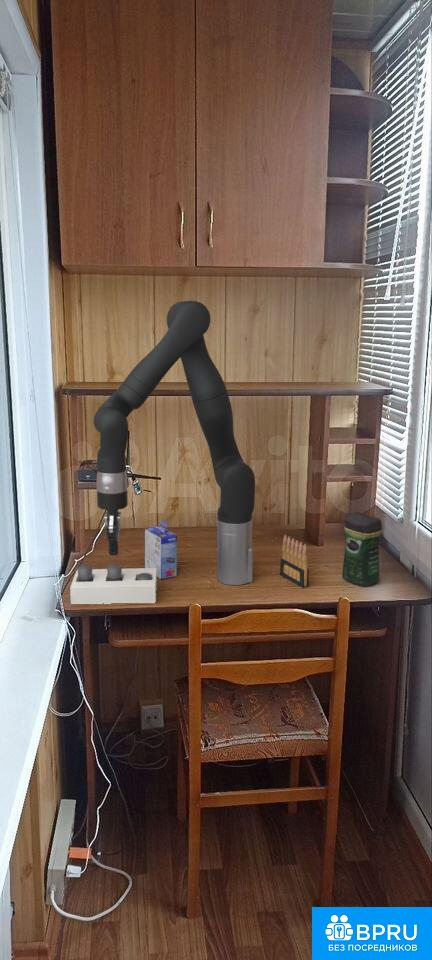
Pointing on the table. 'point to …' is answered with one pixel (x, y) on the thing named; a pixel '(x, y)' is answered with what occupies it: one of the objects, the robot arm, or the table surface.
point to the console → (115, 588)
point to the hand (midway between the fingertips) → (113, 554)
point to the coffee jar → (361, 549)
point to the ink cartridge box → (161, 551)
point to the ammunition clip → (294, 562)
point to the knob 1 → (85, 573)
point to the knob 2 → (144, 576)
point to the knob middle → (114, 572)
